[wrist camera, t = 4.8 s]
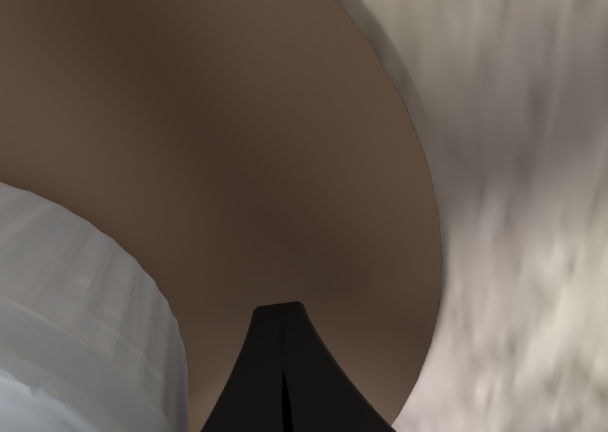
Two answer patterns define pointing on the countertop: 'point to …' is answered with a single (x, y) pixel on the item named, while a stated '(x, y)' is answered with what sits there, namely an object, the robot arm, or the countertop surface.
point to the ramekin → (82, 329)
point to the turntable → (234, 171)
